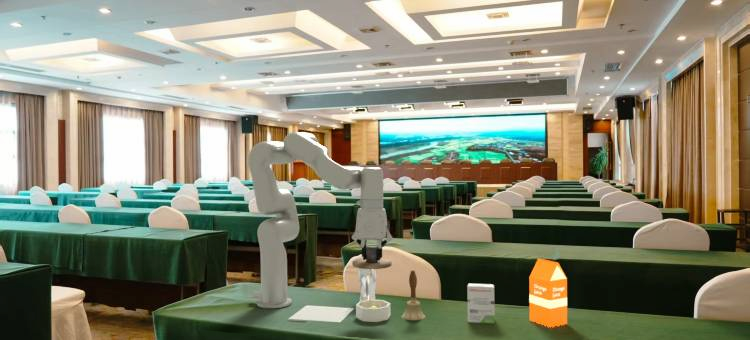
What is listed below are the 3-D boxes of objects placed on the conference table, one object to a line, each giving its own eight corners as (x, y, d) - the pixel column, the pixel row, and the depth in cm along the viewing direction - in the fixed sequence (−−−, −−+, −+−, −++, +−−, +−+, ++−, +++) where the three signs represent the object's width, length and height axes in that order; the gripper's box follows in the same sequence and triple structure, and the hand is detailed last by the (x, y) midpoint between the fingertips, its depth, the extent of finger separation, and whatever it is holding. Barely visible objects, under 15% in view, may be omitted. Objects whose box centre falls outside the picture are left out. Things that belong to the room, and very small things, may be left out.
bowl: (353, 322, 168) (353, 307, 168) (362, 313, 178) (361, 298, 178) (385, 325, 165) (385, 309, 165) (392, 315, 176) (392, 300, 175)
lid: (347, 267, 167) (347, 249, 167) (358, 260, 179) (358, 243, 179) (386, 270, 163) (386, 251, 163) (395, 262, 176) (395, 244, 176)
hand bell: (427, 321, 168) (427, 273, 167) (402, 322, 167) (402, 273, 167) (423, 314, 176) (423, 267, 175) (399, 315, 175) (399, 268, 175)
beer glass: (378, 299, 195) (377, 260, 195) (376, 304, 188) (375, 263, 188) (359, 299, 196) (359, 259, 195) (357, 304, 189) (356, 263, 188)
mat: (288, 320, 170) (288, 318, 170) (306, 307, 186) (306, 305, 186) (340, 324, 166) (340, 322, 166) (354, 309, 182) (354, 308, 182)
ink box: (494, 319, 169) (494, 283, 169) (494, 324, 165) (494, 287, 164) (468, 317, 171) (468, 282, 171) (467, 322, 167) (467, 286, 166)
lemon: (366, 318, 170) (367, 308, 170) (369, 313, 174) (369, 303, 173) (377, 319, 169) (377, 309, 169) (379, 314, 173) (380, 304, 172)
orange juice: (549, 328, 160) (549, 264, 160) (529, 320, 168) (528, 259, 167) (567, 324, 164) (567, 261, 163) (546, 316, 171) (546, 256, 171)
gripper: (344, 205, 169) (344, 260, 170) (394, 206, 165) (394, 263, 166) (351, 203, 177) (351, 256, 177) (398, 204, 173) (398, 258, 173)
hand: (372, 258), depth 171 cm, fingers closed on lid, 4 cm apart
